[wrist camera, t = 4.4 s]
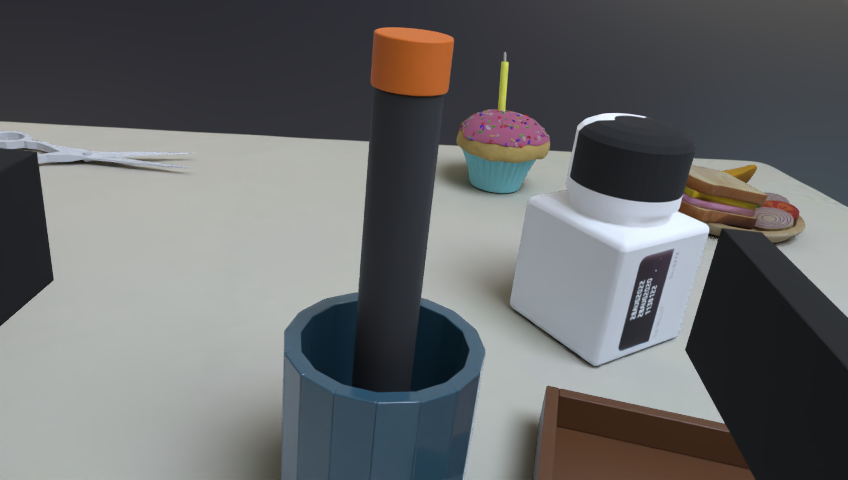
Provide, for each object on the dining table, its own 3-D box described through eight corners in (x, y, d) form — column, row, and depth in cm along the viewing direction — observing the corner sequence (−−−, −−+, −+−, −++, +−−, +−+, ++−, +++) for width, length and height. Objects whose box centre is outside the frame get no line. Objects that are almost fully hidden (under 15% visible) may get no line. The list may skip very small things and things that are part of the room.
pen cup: (248, 552, 26) (249, 374, 23) (317, 430, 32) (325, 278, 29) (438, 603, 25) (466, 423, 22) (469, 466, 31) (495, 312, 28)
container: (680, 338, 44) (740, 136, 38) (594, 370, 39) (649, 148, 34) (589, 284, 49) (630, 101, 44) (506, 306, 45) (541, 107, 40)
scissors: (-26, 129, 63) (205, 139, 67) (-24, 137, 63) (205, 146, 67) (-83, 168, 53) (190, 177, 57) (-81, 177, 54) (191, 186, 58)
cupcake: (437, 171, 68) (452, 45, 63) (512, 168, 72) (532, 49, 67) (477, 204, 61) (496, 66, 56) (558, 199, 64) (584, 68, 60)
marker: (333, 504, 27) (364, 33, 20) (352, 463, 30) (386, 24, 22) (392, 519, 27) (446, 44, 20) (406, 477, 29) (460, 34, 22)
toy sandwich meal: (830, 253, 59) (850, 201, 57) (677, 241, 58) (691, 188, 56) (759, 199, 71) (773, 154, 69) (629, 188, 69) (640, 142, 67)
